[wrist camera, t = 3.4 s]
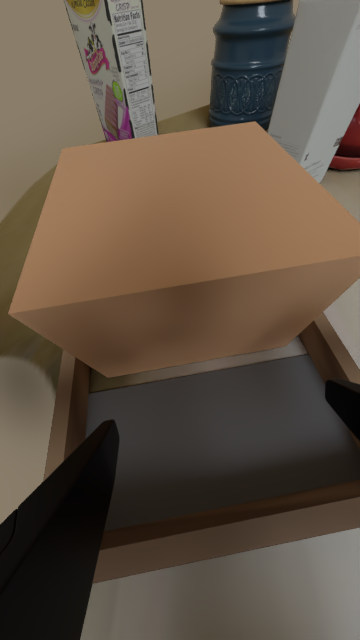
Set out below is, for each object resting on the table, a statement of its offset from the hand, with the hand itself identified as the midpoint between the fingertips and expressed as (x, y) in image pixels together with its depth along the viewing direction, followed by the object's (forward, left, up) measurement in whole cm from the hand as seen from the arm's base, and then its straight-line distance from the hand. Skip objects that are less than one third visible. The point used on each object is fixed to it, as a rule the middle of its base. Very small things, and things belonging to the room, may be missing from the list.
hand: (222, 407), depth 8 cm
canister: (+51, +24, -7) cm, 57 cm away
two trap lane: (+11, +11, -7) cm, 17 cm away
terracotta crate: (+8, +8, -7) cm, 14 cm away
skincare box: (+33, +7, -7) cm, 34 cm away
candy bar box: (+29, +34, -7) cm, 45 cm away
